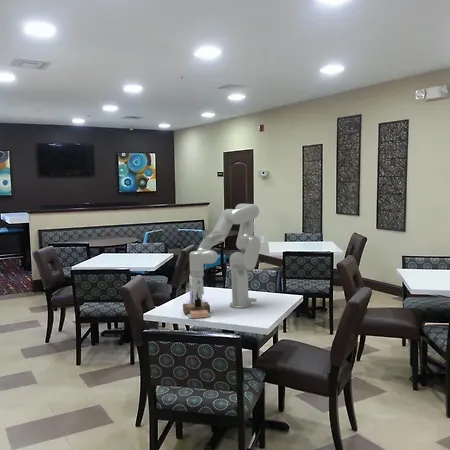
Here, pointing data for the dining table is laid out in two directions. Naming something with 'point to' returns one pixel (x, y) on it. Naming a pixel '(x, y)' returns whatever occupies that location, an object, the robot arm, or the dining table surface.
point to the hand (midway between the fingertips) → (198, 306)
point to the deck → (191, 307)
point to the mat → (201, 317)
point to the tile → (199, 313)
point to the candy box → (192, 295)
